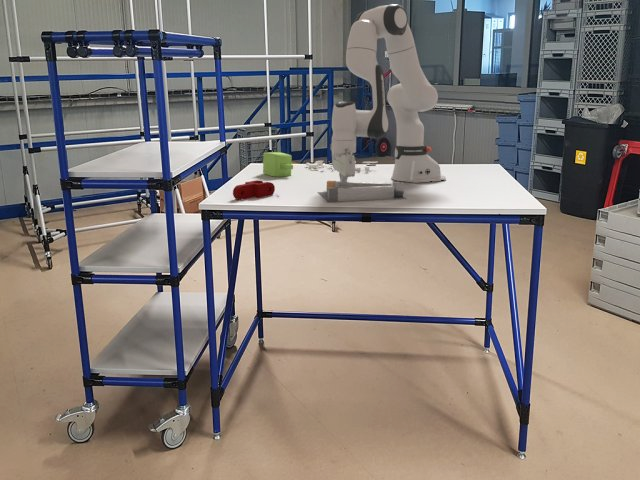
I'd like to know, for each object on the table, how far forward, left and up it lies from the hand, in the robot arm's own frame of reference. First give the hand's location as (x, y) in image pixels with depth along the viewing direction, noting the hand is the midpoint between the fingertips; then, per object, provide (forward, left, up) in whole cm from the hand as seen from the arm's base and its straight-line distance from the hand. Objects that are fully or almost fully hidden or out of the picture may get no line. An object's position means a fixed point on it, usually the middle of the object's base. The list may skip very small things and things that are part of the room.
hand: (343, 185), depth 214 cm
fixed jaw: (-4, +15, -2) cm, 16 cm away
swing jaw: (-4, +7, -2) cm, 8 cm away
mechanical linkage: (+33, -2, -4) cm, 34 cm away
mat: (-4, +9, -3) cm, 11 cm away
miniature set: (-12, -54, -4) cm, 56 cm away
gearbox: (+17, -47, -4) cm, 50 cm away
